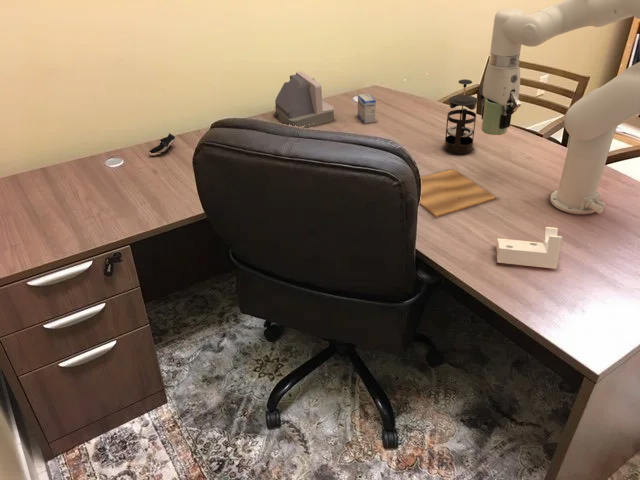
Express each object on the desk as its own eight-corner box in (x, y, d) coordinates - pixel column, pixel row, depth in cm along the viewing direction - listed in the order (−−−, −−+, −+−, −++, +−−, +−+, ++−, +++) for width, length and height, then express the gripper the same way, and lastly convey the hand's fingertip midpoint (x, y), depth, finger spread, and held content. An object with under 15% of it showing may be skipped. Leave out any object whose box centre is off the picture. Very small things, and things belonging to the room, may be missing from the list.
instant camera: (337, 123, 200) (336, 84, 192) (283, 132, 196) (279, 92, 188) (322, 104, 217) (320, 67, 209) (272, 112, 213) (268, 74, 205)
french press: (470, 157, 172) (479, 87, 159) (441, 154, 175) (447, 85, 162) (474, 142, 181) (483, 75, 168) (446, 139, 184) (452, 73, 171)
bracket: (552, 257, 128) (557, 227, 126) (556, 268, 122) (562, 237, 119) (495, 251, 131) (499, 222, 129) (497, 262, 125) (501, 231, 122)
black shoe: (157, 163, 185) (167, 150, 181) (146, 154, 183) (157, 141, 180) (169, 149, 193) (179, 137, 190) (159, 141, 192) (169, 128, 188)
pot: (512, 132, 151) (517, 101, 146) (492, 137, 149) (496, 106, 144) (496, 123, 157) (500, 93, 152) (476, 128, 154) (480, 98, 149)
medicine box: (357, 116, 205) (357, 94, 200) (368, 114, 206) (368, 92, 201) (364, 124, 199) (364, 101, 194) (376, 122, 200) (376, 99, 195)
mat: (495, 199, 150) (495, 197, 150) (436, 217, 144) (436, 215, 144) (452, 170, 166) (452, 168, 165) (397, 185, 159) (397, 184, 159)
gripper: (538, 65, 136) (527, 130, 146) (494, 50, 149) (486, 111, 159) (515, 70, 134) (504, 136, 144) (472, 54, 147) (465, 115, 157)
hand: (495, 122), depth 152 cm, fingers closed on pot, 7 cm apart
